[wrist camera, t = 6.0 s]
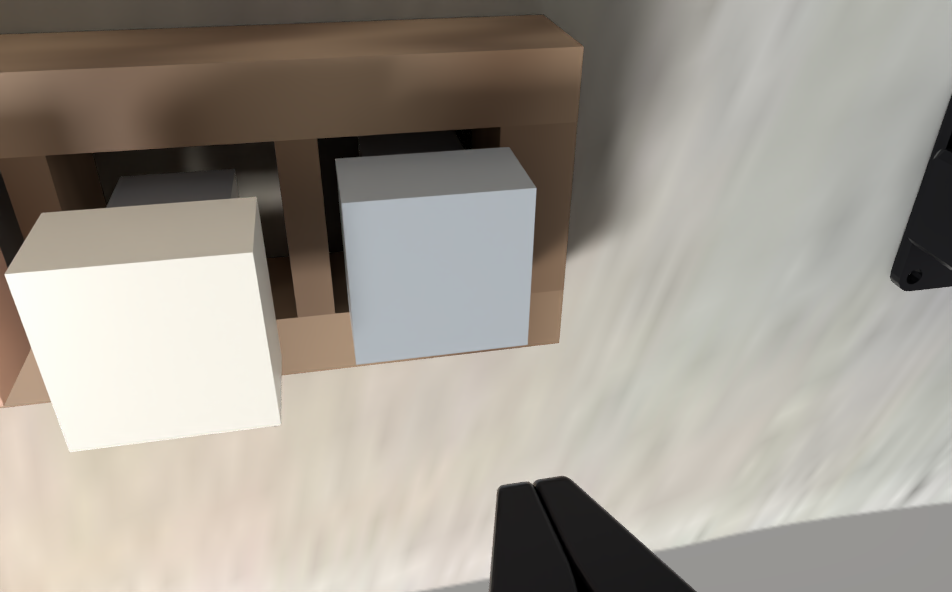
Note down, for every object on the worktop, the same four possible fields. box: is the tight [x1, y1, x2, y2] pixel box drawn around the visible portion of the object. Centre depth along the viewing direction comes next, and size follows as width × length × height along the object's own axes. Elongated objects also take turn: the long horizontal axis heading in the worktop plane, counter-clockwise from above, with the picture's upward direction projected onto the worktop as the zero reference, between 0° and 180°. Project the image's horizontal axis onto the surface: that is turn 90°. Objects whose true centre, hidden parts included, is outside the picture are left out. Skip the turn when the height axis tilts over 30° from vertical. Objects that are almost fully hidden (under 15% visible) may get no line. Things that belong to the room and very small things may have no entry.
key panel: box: [0, 15, 584, 408], centre depth 16 cm, size 16×7×3 cm, turn 89°
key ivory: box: [4, 169, 282, 452], centre depth 14 cm, size 3×3×5 cm
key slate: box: [335, 130, 537, 365], centre depth 16 cm, size 3×3×5 cm
